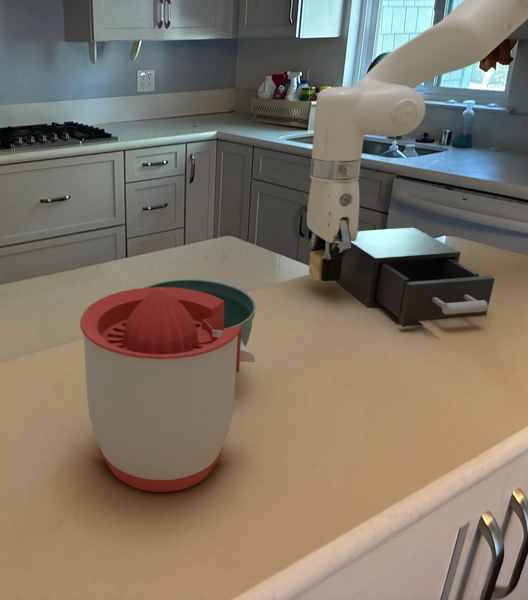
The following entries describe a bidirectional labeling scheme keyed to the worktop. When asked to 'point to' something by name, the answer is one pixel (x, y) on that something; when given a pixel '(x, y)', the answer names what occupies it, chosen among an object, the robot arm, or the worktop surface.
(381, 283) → the mini dresser drawer
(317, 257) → the block
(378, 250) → the grey drawer box
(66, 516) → the worktop surface
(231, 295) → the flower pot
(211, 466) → the citrus juicer
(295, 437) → the worktop surface
